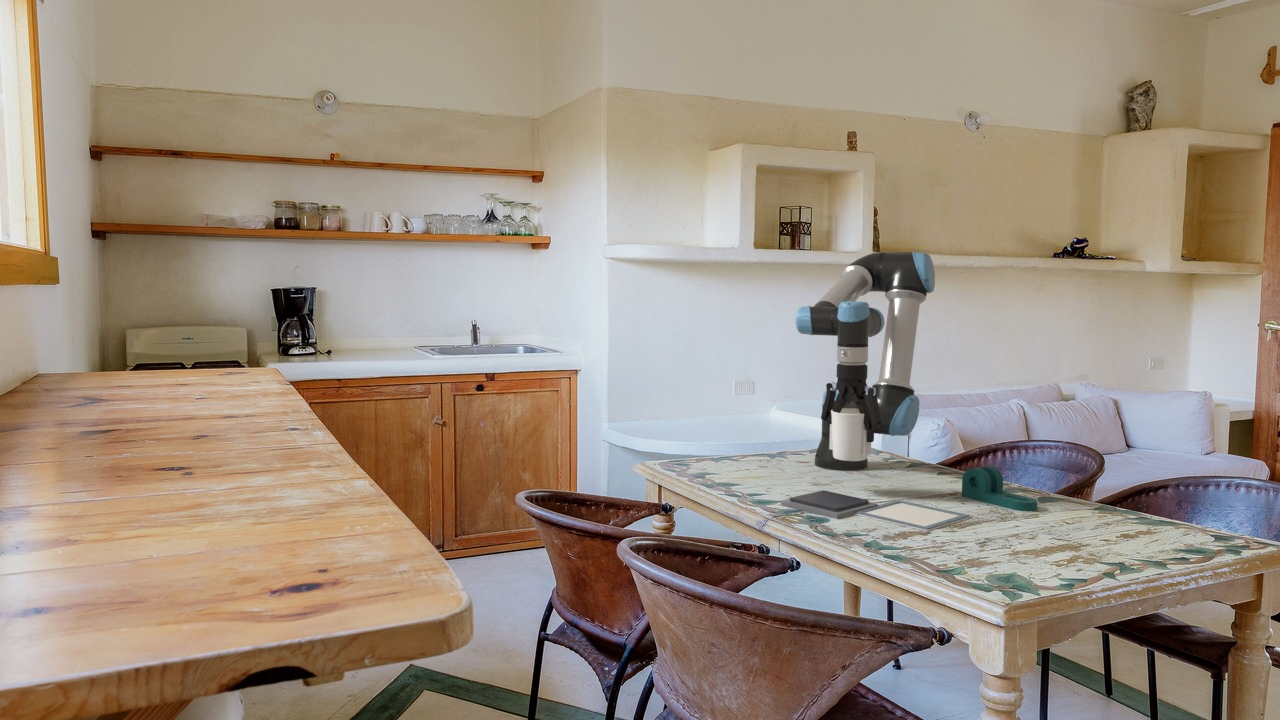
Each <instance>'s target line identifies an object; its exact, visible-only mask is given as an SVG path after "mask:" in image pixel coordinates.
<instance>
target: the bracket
mask: <svg viewBox="0 0 1280 720" xmlns="http://www.w3.org/2000/svg"><path fill="white" fill-rule="evenodd" d="M1003 488H1004V478H1003V474H1002V473H1001V471H1000V470H999V469H998V467H997V468H996V467H994V466H992V465H988V466H982V467H973V468H969V469H967V470H966V471H964V473H963V474H962V478H961V497H962V498H966V499H969V500H972V501H977V502H982V503H986V504H990V505H994V506H997V507H1001V508H1006V509H1010V510H1013V511H1020V512H1035V511H1038V500H1037V499H1036V498H1033V497H1029V496H1024V495H1020V494H1016V493H1012V492H1008V491H1004V489H1003Z"/></svg>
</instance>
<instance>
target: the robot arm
mask: <svg viewBox="0 0 1280 720" xmlns="http://www.w3.org/2000/svg"><path fill="white" fill-rule="evenodd" d="M935 274H936V273H935V267H934V262H933V260H932V257H931V256H930V254H928V253H927V252H923V251H921V252H917V251H910V252H909V251H908V252H907V251H905V252H903V251H901V252H899V251H898V252H897V251H896V252H894V251H892V252H891V251H889V252H881V251H880V252H873V253H870V254H866V255H864V256H862V257H860V258H858V259H856V260H854V261H852V263H849V265H848V266H846V267H845V268H844V269H843V270H842V272H841V274H840V277H839V278H840V279H839V280H837V281H836V283H834V285H833V286H832V287H831V288H830V289H829V290H828V291H827V292H826V293H825V294H824V295H823V296H822V297H821V298H820V299H819V300H818V301H817V303H815V304H814V305H813V306H810V305H807V306H801V307H799V309H797V311H796V316H795V325H796V326H795V327H796V329H797V332H798V333H800V334H801V335H810V336H829V337H830V336H834V337H837V349H836V351H837V352H836V361H837V362H838V363H837V365H836V378H837V380H836V382H834V381H833V382H829V383H826V385H825V386H826V389H825V391H824V392H823V397H822V403H821V406H822V408H821V410H822V411H821V416H820V419H821V438H820V441H819V444H818V447H817V450H816V452H815V455H814V465H815V466H816V467H819V468H823V469H828V470H835V471H836V470H837V471H860V470H865V469H867V468H868V464H869V463H868V457H867V458H866V459H865V460H862V461H843V460H838V459H835V458H834V457H833V448H832V419H831V410H832V409H833V410H834V411H833V412H837V413H840V412H841V410H842V408H857V409H859V412H860V414H864V425H865V427H866V428H864V429H863V442H862V455H864V456H866V455H867V456H869V455H872V443H873V442H875V434H879V435H889V436H891V437H894V436H900V437H901V436H902V437H904V436H908V435H909V434H911V432H913V430H914V428H915V426H916V424H917V422H918V417H919V412H920V399H919V397H918V395H915V389H914V388H913V386H912V385H911V384H910V383H911V376H912V374H911V373H912V367H913V359H914V352H915V344H916V339H917V338H916V335H917V329H918V321H919V315H920V306H921V304H923V303H924V302H925V301H926V300H927V294H930V293H933V292H934V290H935V285H936V275H935ZM870 292H873V293H875V292H881V293H883V292H884V297H885V298H886V299H887V301H888V309H887V317H886V325H885V316H884V314H883V313H882V311H880V310H879V309H877V308H875V307H871V306H870V304H869V303H868V302H866V301H857V300H858V299H859V298H861V297H862V296H864V295H867V294H868V293H870ZM884 326H885V332H884V339H883V346H882V354H881V361H880V368H879V374H878V375H879V376H878V380H877V381H876V382H874V383H873V384H872V386H868V385H867V379H868V369H869V368H868V365H867V363H868V362H869V338H872V337H875V336H877V335H878V334H879V333H881V332H882V331H883V329H884Z"/></svg>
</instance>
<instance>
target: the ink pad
mask: <svg viewBox="0 0 1280 720" xmlns="http://www.w3.org/2000/svg"><path fill="white" fill-rule="evenodd" d="M780 506H783V507H787V508H792V509H796V510H799V511H804V512H809V513H812V514H817V515H820V516H824V517H829V518H832V519H841V518H844V517H849V516H852V515H855V514H854V513H855V512H856V511H860V510H864V509H868V508H871V507H875V506H878V503H877V502H872V501H870V500H869V499H865V498H859V497H856V496H853V495H852V496H851V495H847V494H842V493H838V492H833V491H829V490H819V491H815V492H811V493H809V492H808V493H805V494H800V495H797V496H796V495H795V496H793V497H792V496H791V497H790V498H788V499H783V500H780Z"/></svg>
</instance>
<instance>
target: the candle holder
mask: <svg viewBox="0 0 1280 720" xmlns="http://www.w3.org/2000/svg"><path fill="white" fill-rule="evenodd" d="M833 411H834V410H833V409H832V410H831V419H832V448H833V457H834V458H835V459H838V460H843V461H862V460H865V459H866V458H867V459H868V455H866V456H864V455H862V442H863V429H864V428H866V427H865V425H864V414H860V412H859V409H857V408H842V410H841V412H840V413H837V412H833Z"/></svg>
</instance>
